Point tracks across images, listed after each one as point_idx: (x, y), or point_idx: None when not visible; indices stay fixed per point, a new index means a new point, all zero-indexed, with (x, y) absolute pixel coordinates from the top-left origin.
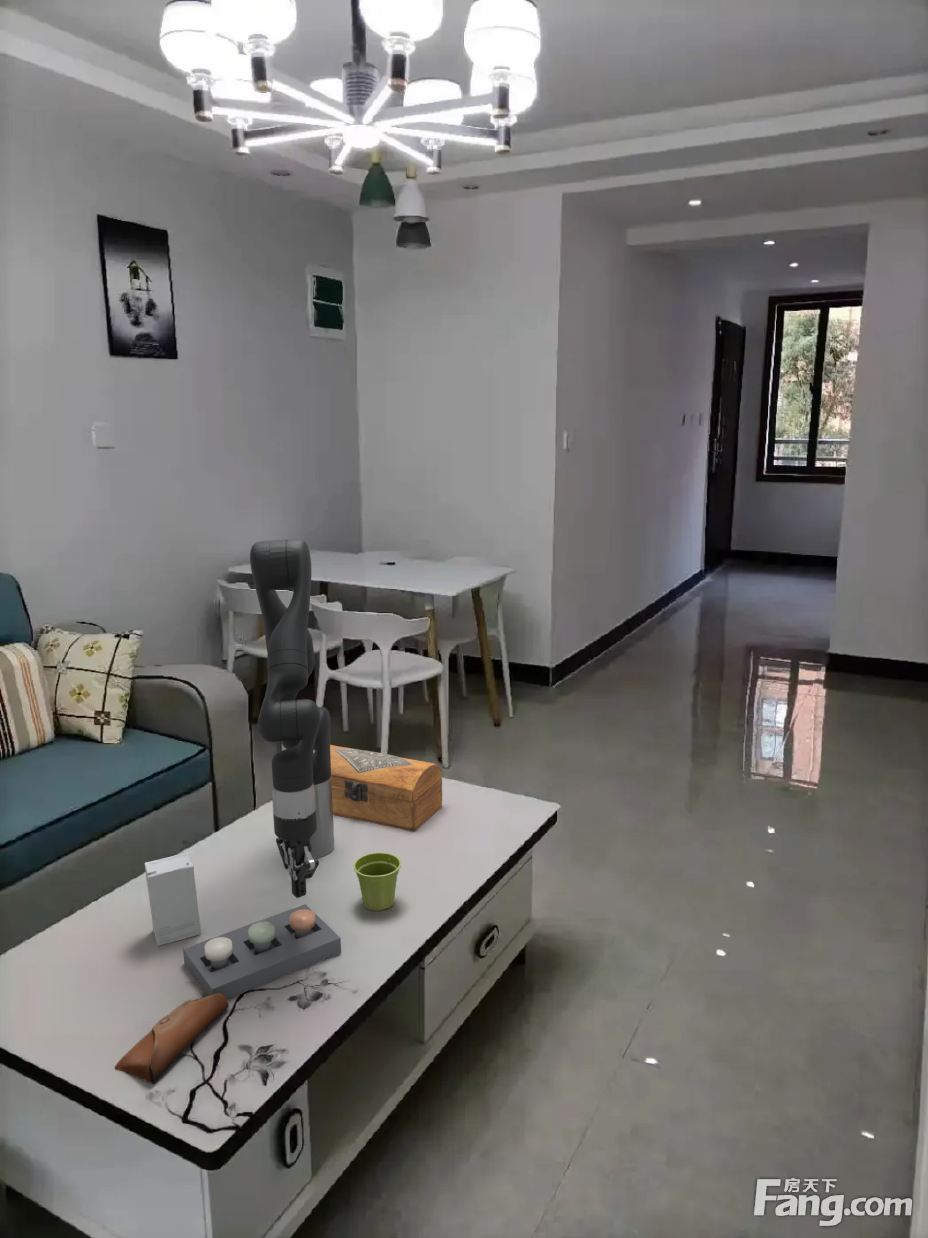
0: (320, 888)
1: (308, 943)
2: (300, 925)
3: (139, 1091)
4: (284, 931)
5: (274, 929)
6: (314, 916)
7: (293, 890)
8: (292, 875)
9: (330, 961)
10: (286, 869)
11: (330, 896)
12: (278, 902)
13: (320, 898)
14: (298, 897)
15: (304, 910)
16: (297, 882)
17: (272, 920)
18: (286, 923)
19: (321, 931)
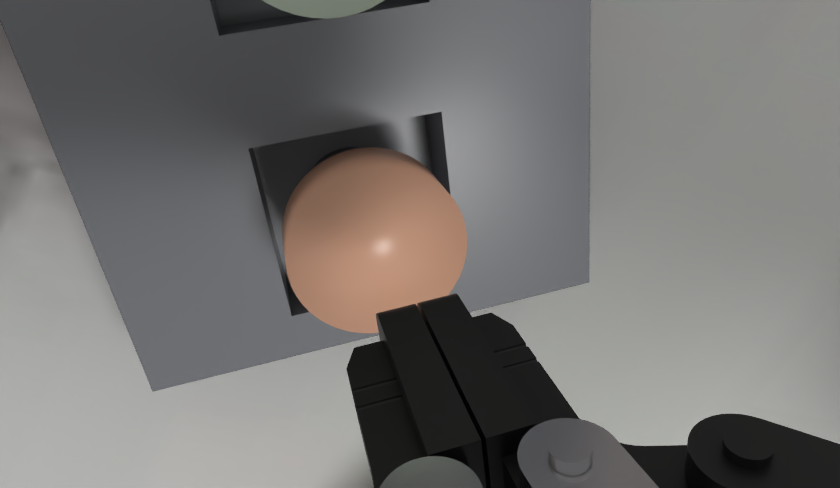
0: (719, 348)
1: (165, 210)
2: (294, 216)
3: None
4: (379, 99)
5: (274, 5)
6: (337, 326)
7: (433, 336)
8: (522, 470)
9: (101, 271)
10: (692, 434)
11: (640, 373)
12: (751, 153)
13: (653, 334)
14: (380, 332)
15: (441, 282)
16: (402, 462)
17: (544, 60)
18: (462, 136)
19: (272, 309)
